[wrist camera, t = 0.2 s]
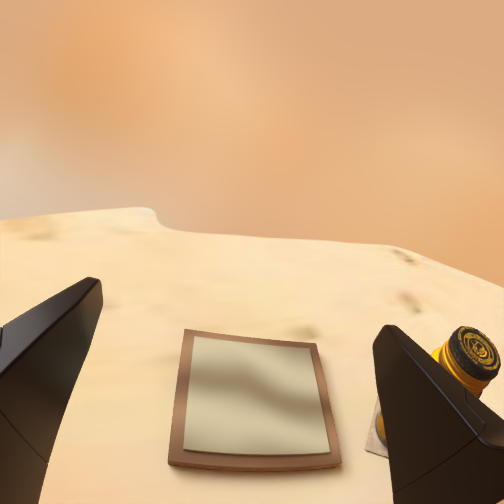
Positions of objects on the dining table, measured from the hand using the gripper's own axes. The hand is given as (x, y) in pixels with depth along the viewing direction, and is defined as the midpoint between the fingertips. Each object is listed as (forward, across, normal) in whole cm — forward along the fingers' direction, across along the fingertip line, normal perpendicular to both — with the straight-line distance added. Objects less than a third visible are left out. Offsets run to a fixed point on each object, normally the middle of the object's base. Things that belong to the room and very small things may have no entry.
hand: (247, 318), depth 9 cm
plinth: (+8, -4, +16) cm, 18 cm away
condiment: (+4, -19, +17) cm, 26 cm away
